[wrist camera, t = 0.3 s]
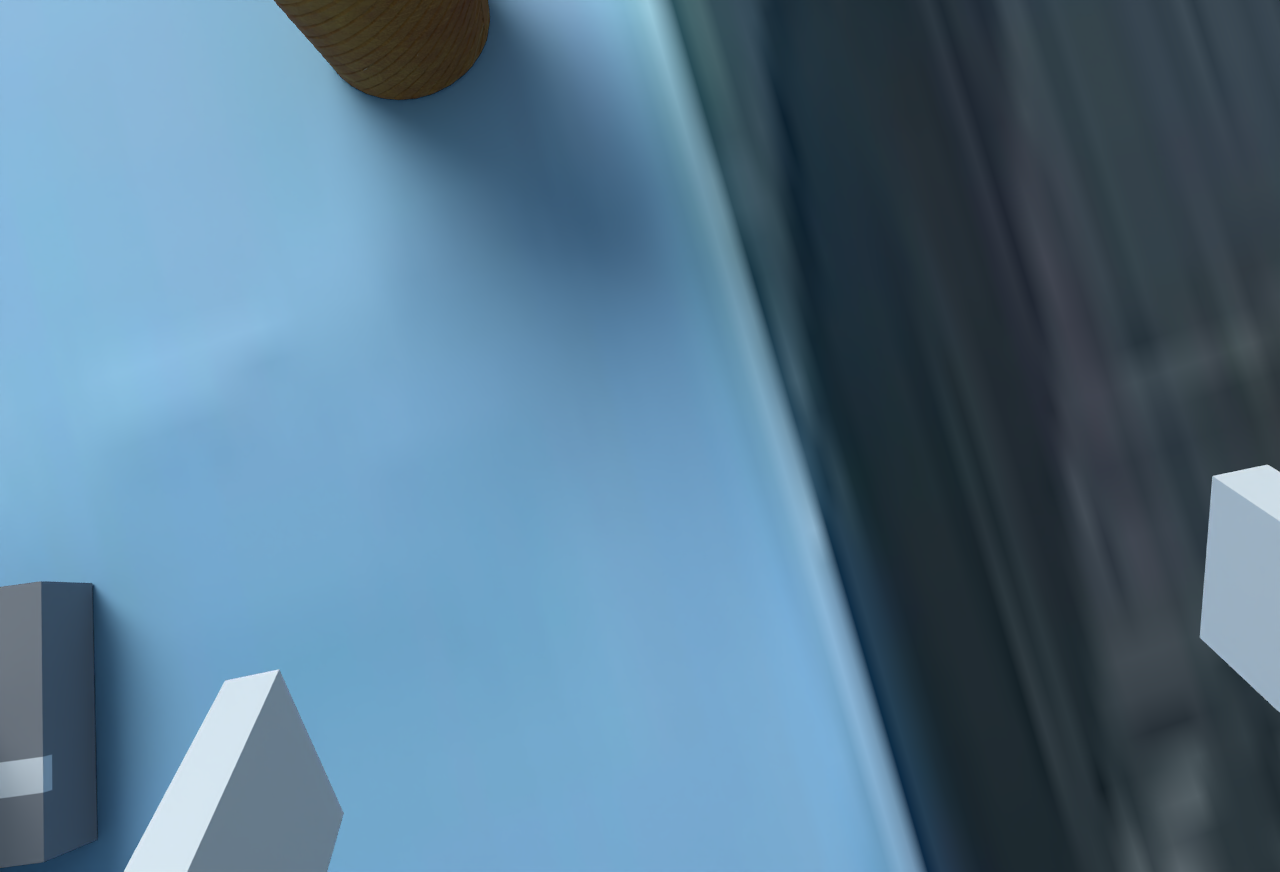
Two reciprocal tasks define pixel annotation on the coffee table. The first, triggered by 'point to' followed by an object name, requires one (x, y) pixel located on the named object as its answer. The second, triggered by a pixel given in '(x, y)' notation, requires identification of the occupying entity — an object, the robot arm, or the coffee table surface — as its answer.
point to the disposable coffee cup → (394, 41)
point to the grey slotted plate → (46, 721)
